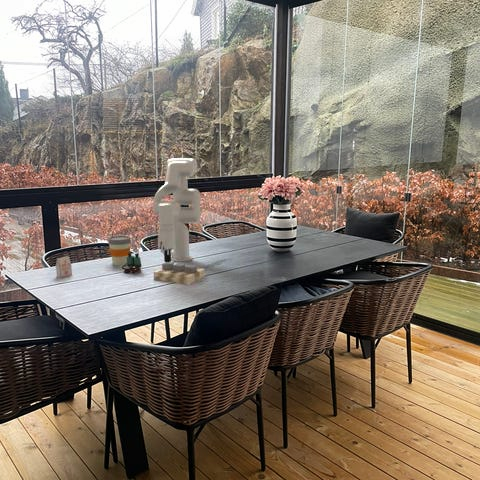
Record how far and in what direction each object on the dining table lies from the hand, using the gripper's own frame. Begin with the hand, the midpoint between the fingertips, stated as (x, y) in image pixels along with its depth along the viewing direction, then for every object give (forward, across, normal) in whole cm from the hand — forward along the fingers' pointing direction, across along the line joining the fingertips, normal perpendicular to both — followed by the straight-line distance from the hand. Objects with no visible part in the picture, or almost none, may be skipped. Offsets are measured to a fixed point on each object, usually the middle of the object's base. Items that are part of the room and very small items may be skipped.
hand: (167, 261), depth 253 cm
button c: (+5, 0, +14) cm, 15 cm away
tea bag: (+8, +22, -51) cm, 56 cm away
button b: (+5, 0, +7) cm, 9 cm away
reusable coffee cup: (+8, -12, -41) cm, 44 cm away
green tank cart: (+8, +2, -22) cm, 24 cm away
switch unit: (+8, 0, +7) cm, 11 cm away
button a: (+5, 0, 0) cm, 5 cm away
